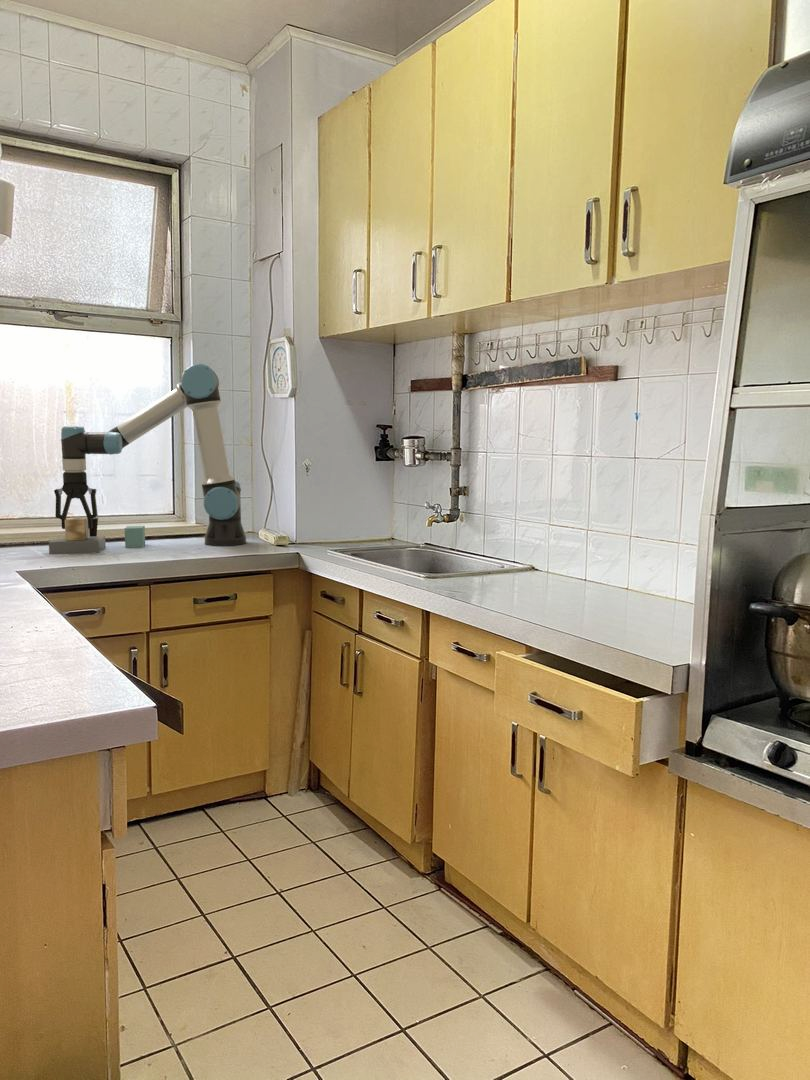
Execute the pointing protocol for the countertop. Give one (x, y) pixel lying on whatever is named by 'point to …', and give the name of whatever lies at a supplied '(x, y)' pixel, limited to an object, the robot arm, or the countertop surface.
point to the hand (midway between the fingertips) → (77, 538)
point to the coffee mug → (93, 526)
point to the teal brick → (134, 536)
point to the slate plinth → (77, 545)
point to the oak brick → (75, 529)
